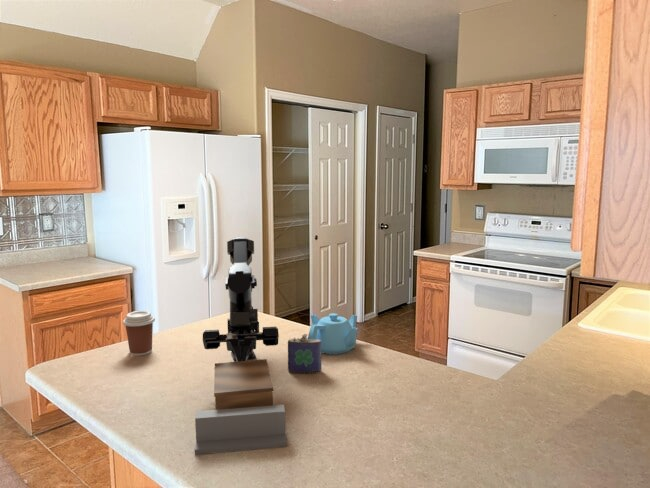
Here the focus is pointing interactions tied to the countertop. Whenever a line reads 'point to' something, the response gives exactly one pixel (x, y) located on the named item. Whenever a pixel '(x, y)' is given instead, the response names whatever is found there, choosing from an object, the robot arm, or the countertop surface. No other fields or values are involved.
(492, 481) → the countertop surface
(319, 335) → the teapot
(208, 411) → the gray flanged bar
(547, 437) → the countertop surface
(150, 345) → the coffee cup
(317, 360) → the flask
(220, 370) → the recipe box
